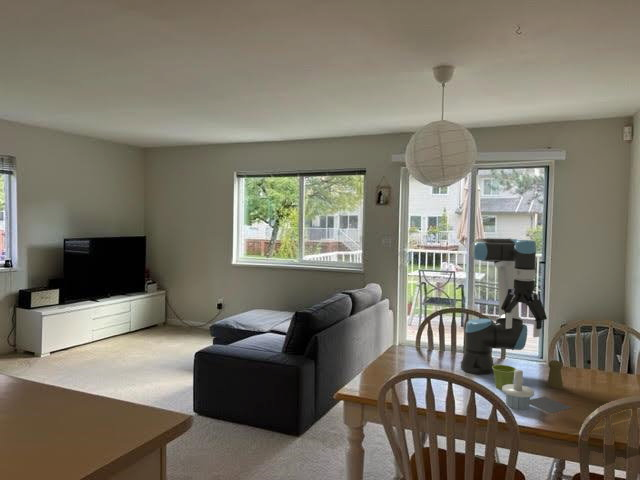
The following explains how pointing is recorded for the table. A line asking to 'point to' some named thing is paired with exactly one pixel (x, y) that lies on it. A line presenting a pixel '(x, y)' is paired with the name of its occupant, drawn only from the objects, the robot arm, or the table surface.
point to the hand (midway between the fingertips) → (522, 332)
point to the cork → (555, 374)
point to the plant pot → (503, 375)
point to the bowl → (518, 402)
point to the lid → (518, 386)
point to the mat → (548, 404)
